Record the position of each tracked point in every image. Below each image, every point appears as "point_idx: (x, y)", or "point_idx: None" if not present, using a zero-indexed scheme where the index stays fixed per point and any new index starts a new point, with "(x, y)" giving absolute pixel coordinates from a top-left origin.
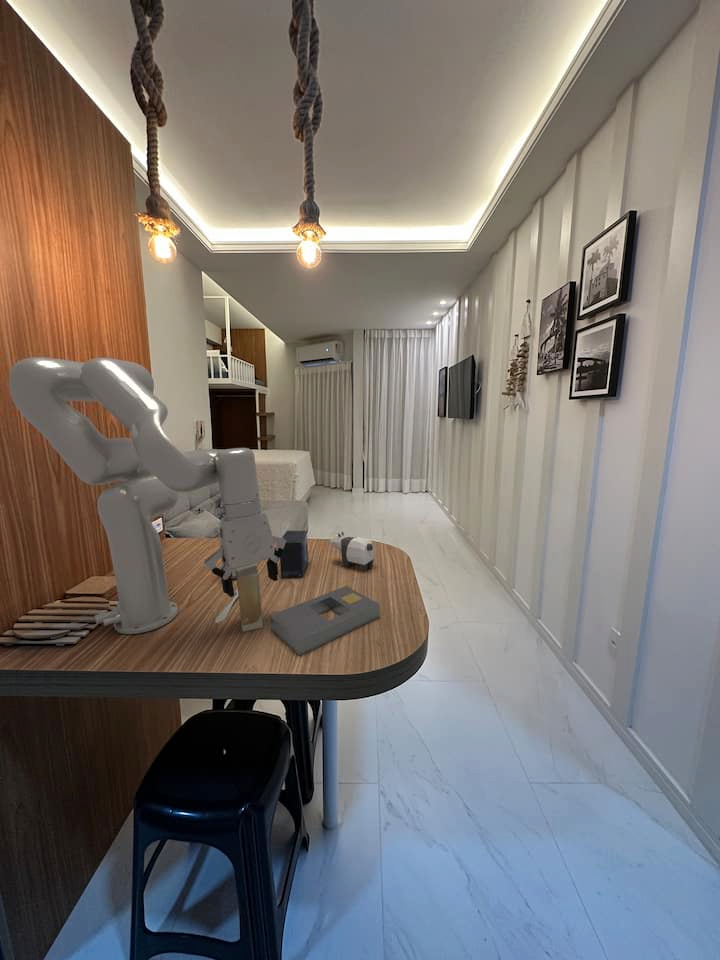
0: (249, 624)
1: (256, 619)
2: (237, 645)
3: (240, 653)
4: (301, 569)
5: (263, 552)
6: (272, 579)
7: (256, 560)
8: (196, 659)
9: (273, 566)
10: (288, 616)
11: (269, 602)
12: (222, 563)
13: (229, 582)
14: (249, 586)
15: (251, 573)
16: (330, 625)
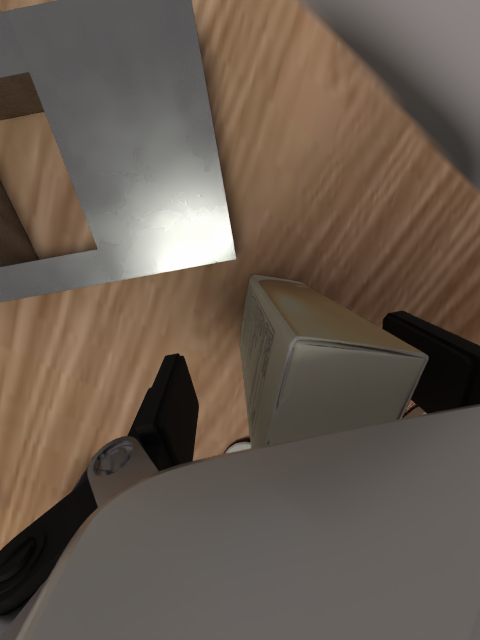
0: (289, 281)
1: (271, 280)
2: (333, 225)
3: (340, 178)
4: (81, 480)
5: (247, 589)
6: (188, 373)
7: (351, 446)
8: (433, 221)
9: (159, 413)
10: (179, 215)
11: (203, 383)
12: None
13: (473, 344)
14: (329, 319)
15: (328, 380)
16: (24, 18)
